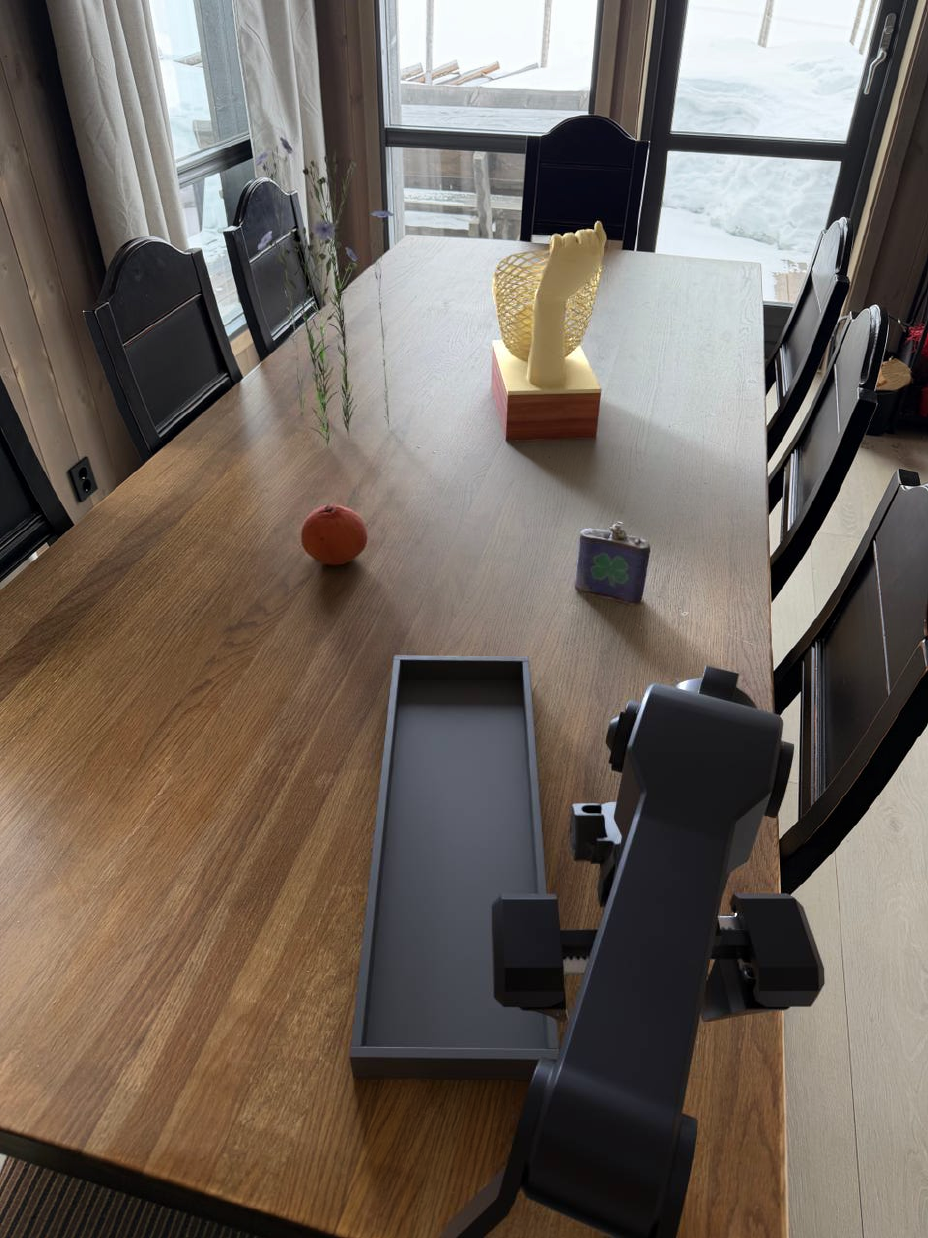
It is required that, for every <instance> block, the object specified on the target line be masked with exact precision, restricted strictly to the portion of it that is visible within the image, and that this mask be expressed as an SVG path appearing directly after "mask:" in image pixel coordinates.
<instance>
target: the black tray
mask: <svg viewBox="0 0 928 1238" xmlns="http://www.w3.org/2000/svg"><path fill="white" fill-rule="evenodd" d="M392 661H393V662H392V668H391V670H392V671H391V680H390V686H389V687H390V688H389V697H388V705H387V716H386V725H385V733H384V741H383V742H384V743H383V752H382V761H381V769H380V777H379V787H378V796H377V804H376V805H377V806H376V813H375V824H374V832H373V841H372V852H371V860H370V869H369V878H368V887H367V894H366V895H367V896H366V905H365V913H364V923H363V933H362V941H361V950H360V958H359V959H360V960H359V967H358V968H359V969H358V975H357V976H358V978H357V987H356V996H355V997H356V998H355V1004H354V1005H355V1006H354V1011H353V1012H354V1013H353V1014H354V1015H353V1021H352V1030H351V1031H352V1032H351V1040H350V1050H349V1062H350V1069H351V1075H352V1076H351V1077H352V1079H355V1080H358V1079H359V1080H360V1079H363V1080H365V1079H366V1080H429V1081H430V1080H433V1081H434V1080H435V1081H437V1080H438V1081H439V1080H440V1081H441V1080H443V1081H452V1080H453V1081H506V1082H507V1081H510V1082H512V1081H513V1082H516V1081H517V1082H518V1081H519V1082H531V1080H532V1077H533V1075H534V1072H535V1069H536V1067H537V1064H538V1062H539V1060H540V1058H541V1057H542V1056H543V1057H545V1058H548V1059H550V1060H553V1061H555V1062H556V1060H557V1057H558V1054H559V1050H560V1040H559V1028H558V1027H559V1026H558V1021H557V1020H556V1019H554V1018H552V1017H550V1016H547V1015H544V1014H541V1013H538V1012H535V1011H523V1010H521V1009H519V1008H518V1007H503V1006H502V1005H501V1004H500V1003H499V1002H498V1001H497V1000H496V999H495V998H494V990H493V954H492V919H491V918H492V903H493V902H494V901H495V900H496V899H497V898H498V897H499V895H500V894H548V887H547V885H548V884H547V883H548V882H547V872H546V871H547V869H546V860H545V859H546V858H545V847H544V846H545V845H544V834H543V832H544V831H543V821H542V819H543V818H542V808H541V793H540V782H539V770H538V769H539V768H538V754H537V742H536V741H537V740H536V730H535V717H534V705H533V702H534V701H533V690H532V689H533V688H532V678H531V665H530V664H531V663H530V657H529V656H488V655H487V656H486V655H483V656H482V655H481V656H479V655H478V656H476V655H465V656H464V655H408V654H407V655H399V654H395V655H393V660H392Z"/></svg>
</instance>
